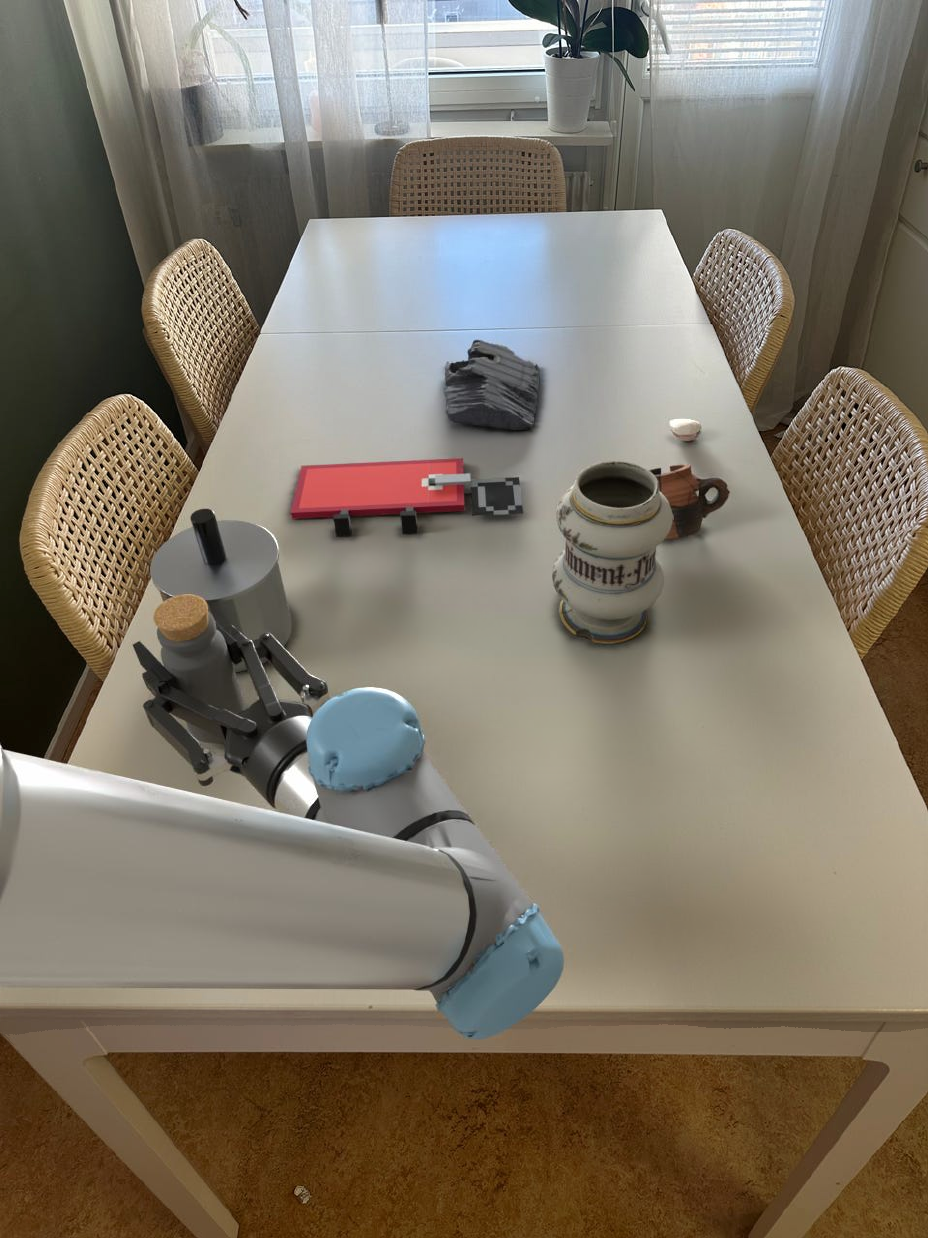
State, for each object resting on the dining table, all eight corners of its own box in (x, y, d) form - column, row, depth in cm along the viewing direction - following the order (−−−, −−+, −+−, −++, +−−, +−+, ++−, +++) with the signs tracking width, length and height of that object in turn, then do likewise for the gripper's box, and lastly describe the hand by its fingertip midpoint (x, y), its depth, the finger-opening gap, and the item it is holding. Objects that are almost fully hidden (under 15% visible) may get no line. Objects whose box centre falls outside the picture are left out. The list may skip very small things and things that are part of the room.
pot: (164, 669, 94) (136, 597, 87) (202, 593, 103) (180, 522, 96) (274, 677, 93) (255, 605, 86) (304, 599, 102) (289, 528, 94)
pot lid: (132, 604, 87) (112, 553, 83) (179, 524, 97) (163, 474, 92) (259, 612, 86) (245, 561, 81) (294, 530, 95) (284, 480, 91)
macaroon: (684, 447, 123) (687, 432, 121) (658, 433, 126) (661, 417, 124) (705, 437, 125) (708, 422, 123) (679, 423, 128) (682, 408, 126)
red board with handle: (524, 528, 110) (516, 464, 121) (524, 509, 108) (516, 446, 119) (288, 538, 110) (303, 474, 121) (284, 520, 108) (299, 456, 120)
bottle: (251, 697, 89) (218, 587, 79) (243, 742, 85) (208, 632, 74) (193, 700, 89) (153, 591, 78) (183, 746, 84) (139, 636, 74)
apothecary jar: (533, 632, 97) (538, 500, 84) (572, 568, 104) (582, 438, 92) (638, 665, 93) (659, 531, 80) (670, 596, 100) (694, 464, 88)
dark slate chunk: (431, 433, 128) (430, 404, 124) (447, 362, 144) (446, 335, 140) (536, 435, 126) (537, 406, 123) (540, 364, 142) (541, 336, 139)
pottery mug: (638, 547, 108) (626, 482, 106) (637, 533, 116) (625, 472, 114) (738, 528, 105) (727, 461, 103) (729, 514, 114) (719, 452, 112)
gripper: (219, 872, 69) (92, 712, 82) (401, 742, 78) (260, 617, 91) (197, 819, 64) (64, 657, 77) (394, 687, 73) (246, 562, 86)
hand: (171, 636), depth 84 cm, fingers closed on bottle, 6 cm apart
